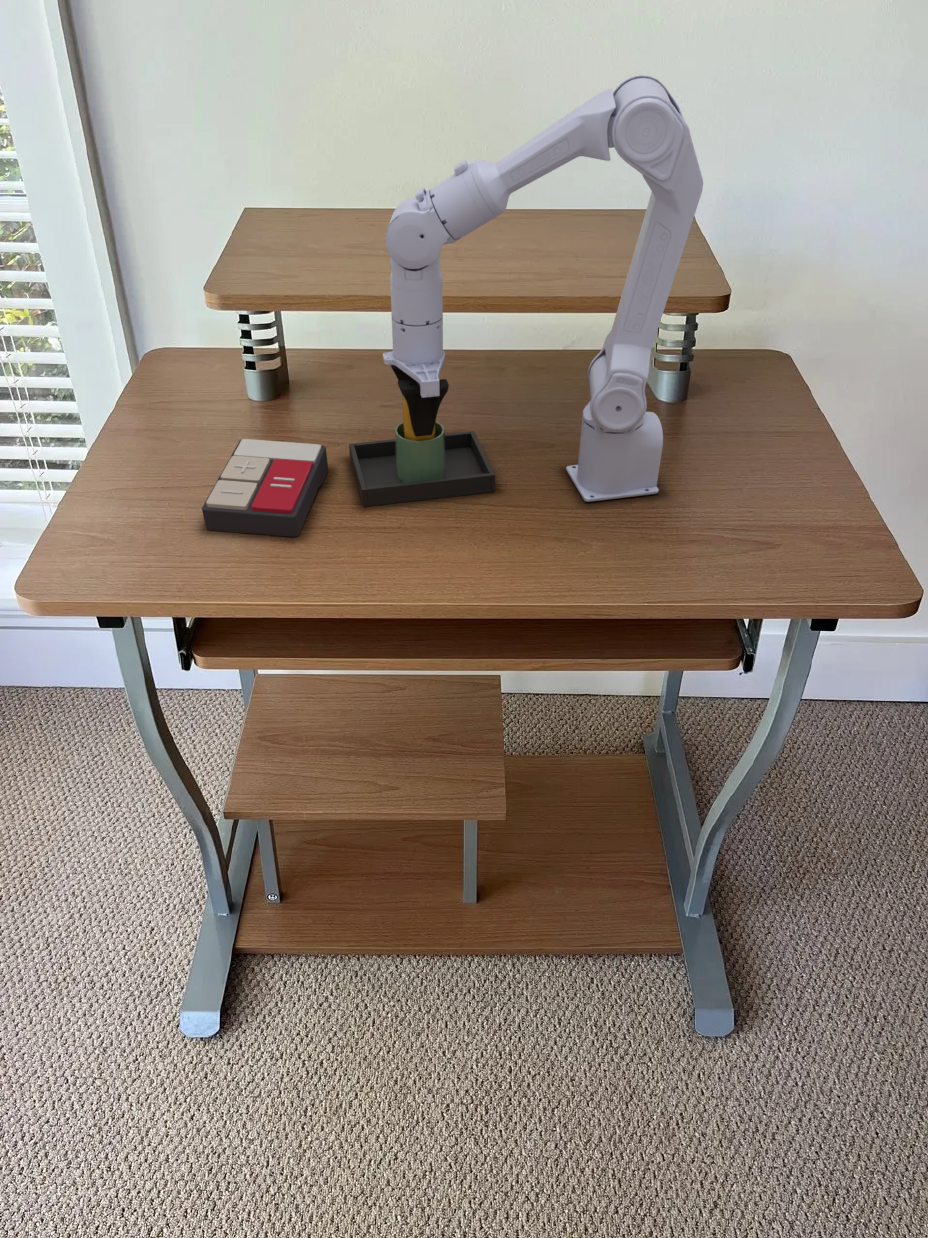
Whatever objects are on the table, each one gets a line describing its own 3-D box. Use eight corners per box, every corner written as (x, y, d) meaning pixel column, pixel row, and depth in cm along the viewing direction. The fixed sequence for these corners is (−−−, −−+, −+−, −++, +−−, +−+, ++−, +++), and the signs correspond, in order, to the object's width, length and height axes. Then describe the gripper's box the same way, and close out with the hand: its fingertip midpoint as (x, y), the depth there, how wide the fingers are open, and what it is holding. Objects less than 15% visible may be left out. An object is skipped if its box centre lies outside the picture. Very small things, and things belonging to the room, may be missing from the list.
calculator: (199, 503, 111) (239, 433, 122) (205, 534, 114) (244, 462, 125) (294, 511, 110) (326, 439, 121) (298, 542, 113) (329, 469, 124)
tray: (473, 446, 129) (474, 430, 127) (494, 491, 120) (495, 474, 119) (350, 460, 126) (348, 443, 124) (362, 507, 117) (361, 489, 116)
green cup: (438, 458, 125) (438, 415, 122) (448, 482, 121) (448, 438, 117) (393, 463, 124) (391, 420, 120) (401, 487, 120) (399, 444, 116)
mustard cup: (431, 427, 121) (430, 385, 118) (437, 442, 118) (437, 400, 115) (401, 430, 120) (400, 388, 117) (407, 445, 118) (405, 403, 114)
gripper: (371, 294, 115) (377, 401, 123) (392, 345, 104) (397, 458, 112) (431, 289, 116) (432, 395, 124) (458, 340, 105) (457, 452, 114)
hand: (419, 425), depth 118 cm, fingers closed on mustard cup, 4 cm apart
